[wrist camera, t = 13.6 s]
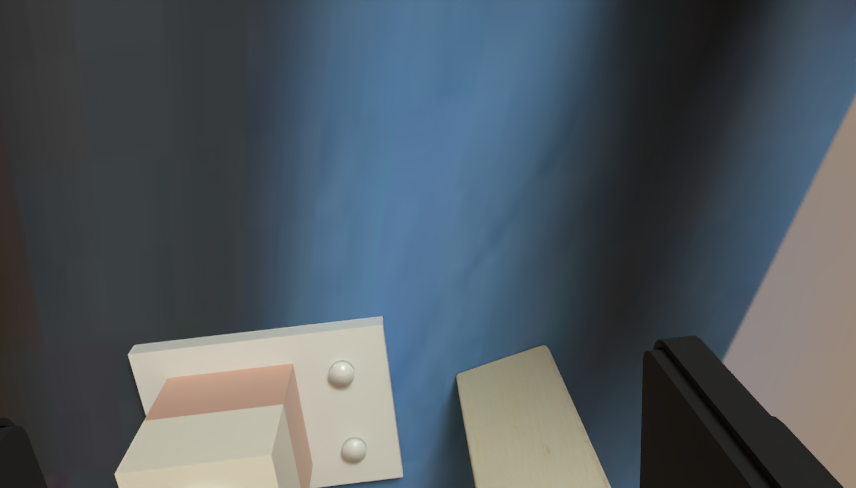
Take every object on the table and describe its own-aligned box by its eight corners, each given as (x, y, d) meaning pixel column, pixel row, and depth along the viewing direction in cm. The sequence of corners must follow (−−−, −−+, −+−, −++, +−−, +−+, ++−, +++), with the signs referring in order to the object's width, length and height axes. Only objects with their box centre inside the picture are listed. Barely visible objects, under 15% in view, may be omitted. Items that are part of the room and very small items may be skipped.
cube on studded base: (382, 316, 43) (383, 408, 33) (402, 465, 47) (408, 584, 38) (134, 344, 43) (63, 446, 33) (177, 493, 47) (126, 620, 37)
